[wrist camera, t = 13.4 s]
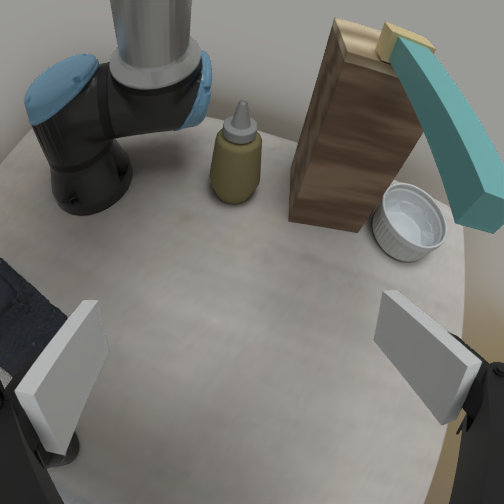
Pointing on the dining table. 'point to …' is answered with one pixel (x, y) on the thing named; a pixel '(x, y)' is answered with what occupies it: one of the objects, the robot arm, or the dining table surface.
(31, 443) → the robot arm
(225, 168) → the squeeze bottle
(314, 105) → the post
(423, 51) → the peg
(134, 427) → the dining table surface
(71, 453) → the supplement bottle
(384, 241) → the ramekin
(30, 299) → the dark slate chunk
